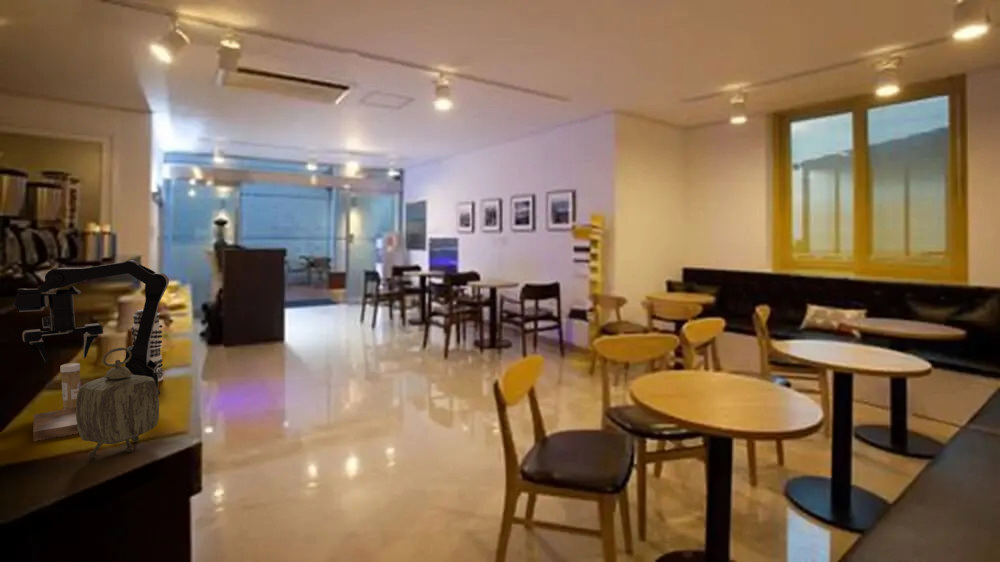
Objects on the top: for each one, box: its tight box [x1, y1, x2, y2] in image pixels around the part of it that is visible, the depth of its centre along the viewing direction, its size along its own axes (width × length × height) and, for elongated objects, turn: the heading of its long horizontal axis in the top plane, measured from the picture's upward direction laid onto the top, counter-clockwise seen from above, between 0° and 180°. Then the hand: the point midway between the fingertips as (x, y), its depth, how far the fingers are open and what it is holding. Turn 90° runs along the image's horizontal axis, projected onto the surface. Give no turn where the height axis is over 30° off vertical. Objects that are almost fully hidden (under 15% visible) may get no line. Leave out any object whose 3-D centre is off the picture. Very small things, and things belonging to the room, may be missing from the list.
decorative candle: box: [130, 309, 164, 382], centre depth 191 cm, size 9×9×25 cm
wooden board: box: [32, 408, 79, 442], centre depth 148 cm, size 20×17×2 cm
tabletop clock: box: [76, 347, 160, 459], centre depth 130 cm, size 14×9×25 cm, turn 163°
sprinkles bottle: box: [59, 362, 82, 410], centre depth 160 cm, size 5×5×14 cm
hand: (66, 360), depth 167 cm, fingers open, 9 cm apart
